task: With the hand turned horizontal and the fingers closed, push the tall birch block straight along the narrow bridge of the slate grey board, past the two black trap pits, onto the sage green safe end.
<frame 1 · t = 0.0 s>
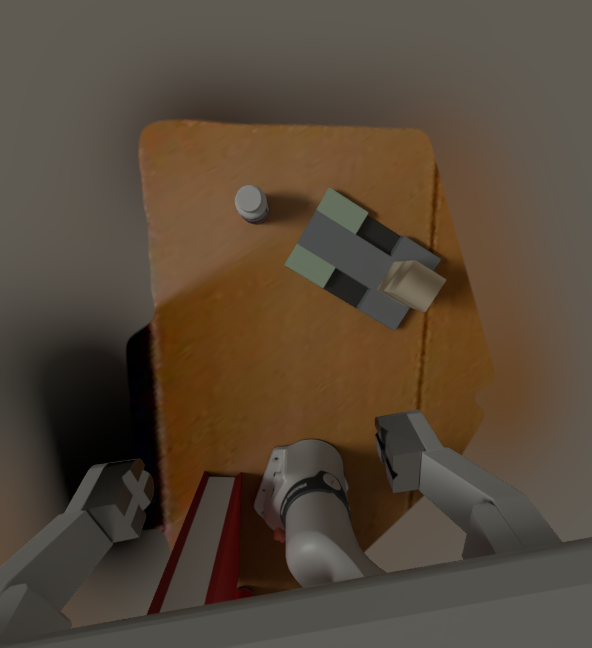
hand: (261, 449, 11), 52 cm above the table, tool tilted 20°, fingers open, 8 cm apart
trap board: (360, 262, 61), on the table
pill bottle: (254, 210, 59), on the table
birch block: (398, 283, 60), point 2 cm above the table, touching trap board
beverage can: (242, 594, 74), on the table
book: (222, 525, 70), on the table
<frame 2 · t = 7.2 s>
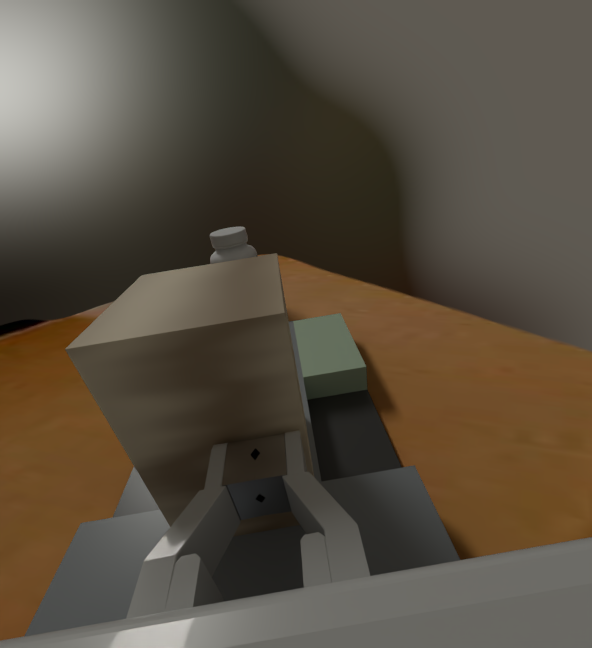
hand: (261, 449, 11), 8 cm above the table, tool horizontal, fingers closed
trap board: (259, 457, 20), on the table
pill bottle: (246, 310, 39), on the table
birch block: (253, 470, 16), point 3 cm above the table, touching gripper
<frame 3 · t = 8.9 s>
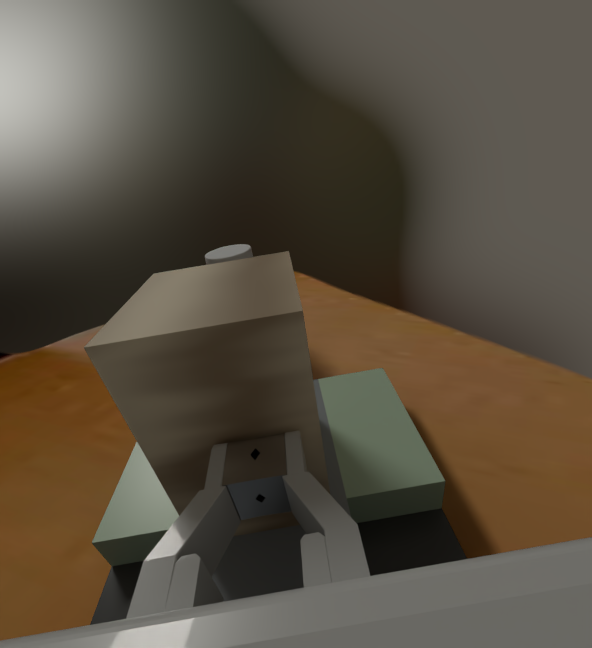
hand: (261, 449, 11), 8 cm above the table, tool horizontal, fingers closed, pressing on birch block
pill bottle: (252, 347, 31), on the table
birch block: (264, 468, 16), point 2 cm above the table, touching gripper, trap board
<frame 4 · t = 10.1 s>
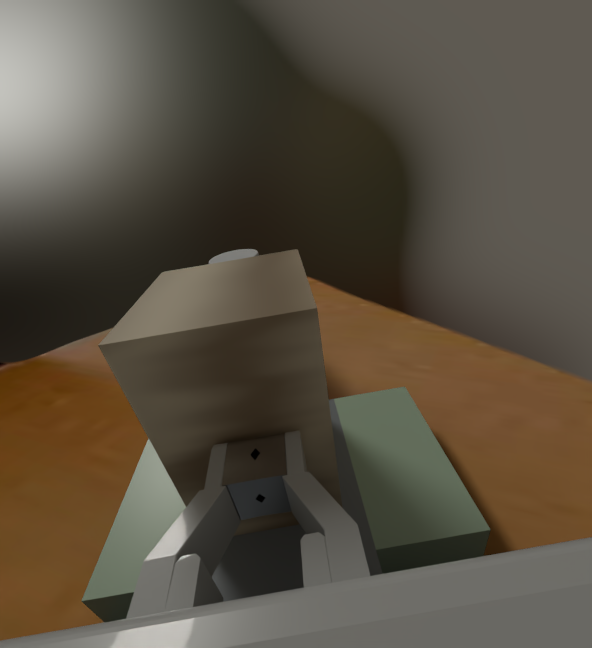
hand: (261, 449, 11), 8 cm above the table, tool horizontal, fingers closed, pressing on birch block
pill bottle: (258, 357, 30), on the table
birch block: (272, 467, 16), point 2 cm above the table, touching gripper, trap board
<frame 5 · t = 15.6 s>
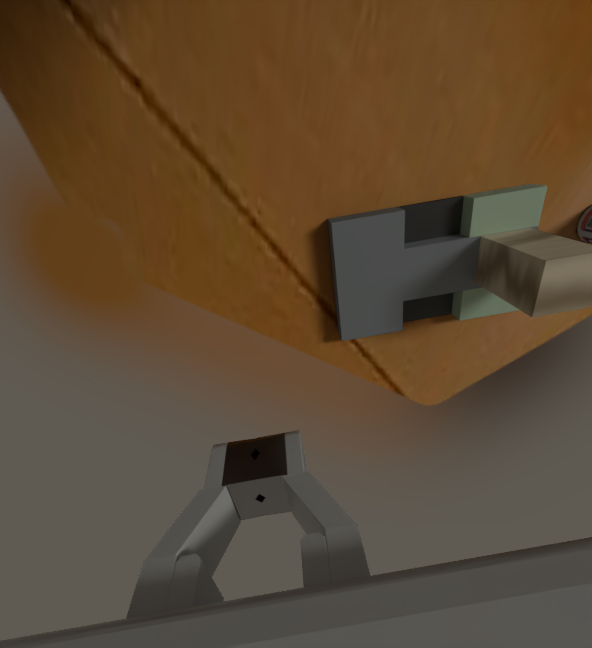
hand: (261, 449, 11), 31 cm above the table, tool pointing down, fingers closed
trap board: (425, 264, 42), on the table
birch block: (501, 256, 39), point 2 cm above the table, touching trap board
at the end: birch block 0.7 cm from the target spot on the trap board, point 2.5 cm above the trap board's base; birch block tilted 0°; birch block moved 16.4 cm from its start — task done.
